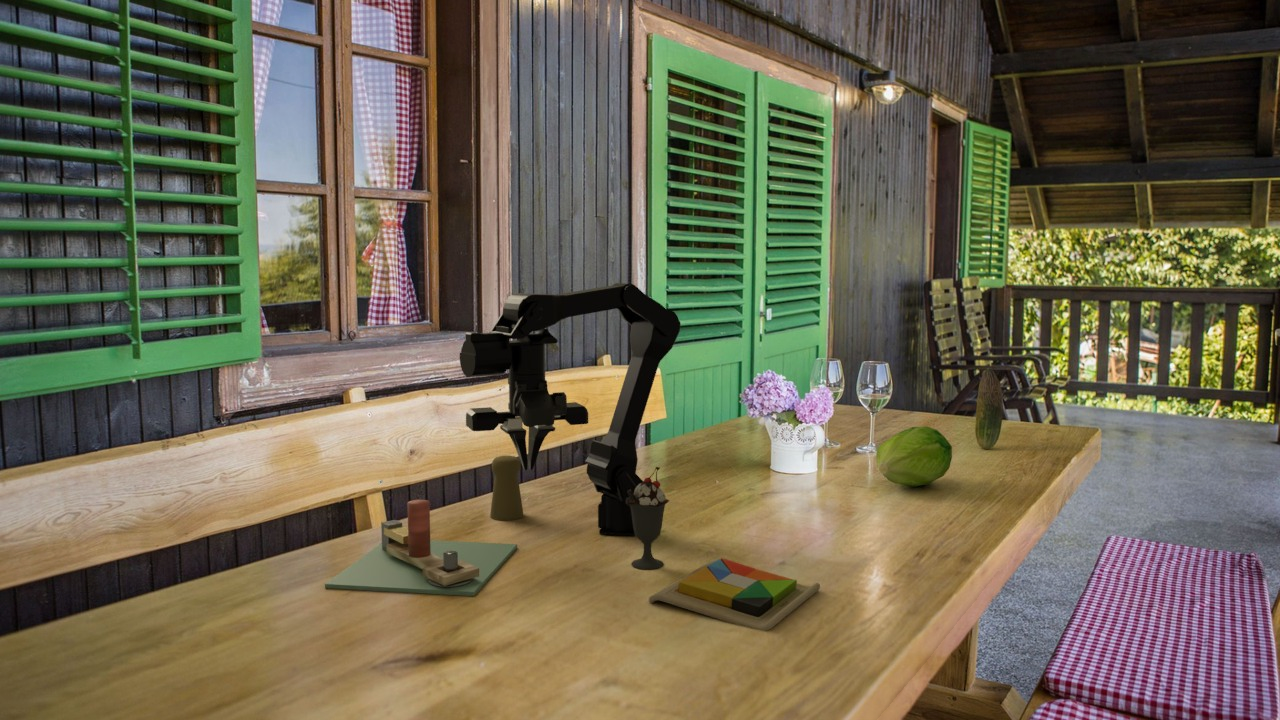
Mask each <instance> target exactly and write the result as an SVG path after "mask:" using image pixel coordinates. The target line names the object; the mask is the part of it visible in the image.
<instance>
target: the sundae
mask: <svg viewBox="0 0 1280 720" xmlns="http://www.w3.org/2000/svg"><path fill="white" fill-rule="evenodd" d="M660 469H661V468H660V467H659V466H655V469H654V471H653V473H652V474H651V475H650V476H649V477H645V478H644V480H642V481H643V482H642V483H639V485H638V486H637V487H636V488H635V491H634V494H633V492H632V491H631V489H629V490H628V491H627V492H628V495H629V496H630V497H628V498H627V499H626V504H627V506H630V508H631V513H632V521H633V528H634V533H635V537H636V539H638V540H639V541H641V543H642V544H643V553H642V555H641V558H637V559H634V560H632V562H631V567H633V568H635V569H639V570H644V571H645V570H648V571H651V570H658V569H660V568H662V567H663V566H664V562H663V560H661V559H657V558H655V557H654V556H653V553H652V543H653V542H655V540H657V539H658V538H659V536H661V532H662V528H663V521H664V520H663V519H664V513H665V508H666V507H665V506H666V504H668V503H669V502H670V500H669V499H667V498H666V494H665V492H664V491H663V489H661V482H660V481H658V471H659V470H660ZM654 474H655V480H654V481H653V482H652V479H651V478H652V476H653V475H654Z"/></svg>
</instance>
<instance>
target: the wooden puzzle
mask: <svg viewBox="0 0 1280 720" xmlns="http://www.w3.org/2000/svg"><path fill="white" fill-rule="evenodd" d="M797 582H798V581H797V579H793V578H789V577H787V576H783V575H779V574H776V573H772V572H768V571H765V570H761V569H758V568H757V569H756V568H754V567H751V566H748V565H745V564H742V563H739V562H736V561H733V560H730V559H726V558H723V557H721V558H718V559H717V560H710V561H708V562H706V563H704V564H703V565H701V566H700V567H698V568H697V569H694V570H693V571H692V572H689V573H688V574H686V575H685V576H683V577H681V578H680V579H678V580H676V581H674V582H672V583H670V584H669V585H667V586H666V587H664V588H662V589H660V590H659V591H657V592H655V593H653V594H651V595H650V596H649V597H648V602H649V604H654V603H656V602H658V601H660V602H664V603H666V604H669V605H672V606H676V607H679V608H682V609H685V610H689V611H692V612H694V613H698V614H701V615H704V616H707V617H711V618H714V619H716V620H720V621H723V622H726V623H729V624H733V625H737V626H741V627H746V628H748V629H753V630H757V631H761V632H768V631H770V630H771V629H773V628H774V627H775V626H777V625H778V624H779V623H780V622H781V621H783V619H785V618H786V617H787V616H788V615H789V614H791V613H792V612H793V611H795V610H796V609H797V608H798V607H800V606H801V605H802V604H803V603H804V602H805V601H807V600H808V599H809V598H810V597H812V596H813V595H814V594H815V593H817V592H818V591H819V590H820V589H821V585H820V583H818V582H816V583H813V584H812V585H811V586H807V585H805V584H800V583H797Z"/></svg>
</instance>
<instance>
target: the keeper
mask: <svg viewBox="0 0 1280 720" xmlns="http://www.w3.org/2000/svg"><path fill="white" fill-rule="evenodd" d="M380 523H381V525H380V526H381V543H382V550H384V551H386V545H387V544H391V543H396V542H400V543H402V544H407V543H408V527H406V526H405V525H403V522H401V521H400V520H397V519H393V520H392V519H391V520H387V521H386V520H385V521H382V522H380ZM386 552H387V551H386Z"/></svg>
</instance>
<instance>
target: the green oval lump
mask: <svg viewBox="0 0 1280 720" xmlns="http://www.w3.org/2000/svg"><path fill="white" fill-rule="evenodd" d="M952 455H953V446H952V445H951V443H950V442H949V441H948V439H947V438H946V437H945V436H944V435H943V434H942V433H941V432H940V431H939V430H938V429H936V428H933V427H931V426H914V427H910V428H907V429H904V430H902V431H900V432H898V433H897V434H895V435H893V436H892V437H890V438H888V439H887V440H885V441H884V442H883V443H882V444H879V446H877V448H876V455H875V459H876V464H877V468H878V471H879V473H880V474H882V475H883V477H885V478H886V479H887V480H888V481H889V482H890V483H893V484H898V485H902V486H906V487H920V486H926V485H930V484H932V483H933V482H935V481H936V480H938V479H941V478H942V477H943V476H945V475H946V473H947V472H948V470H949V469H950V468H951V463H952V459H953V458H952V457H953V456H952Z"/></svg>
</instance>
